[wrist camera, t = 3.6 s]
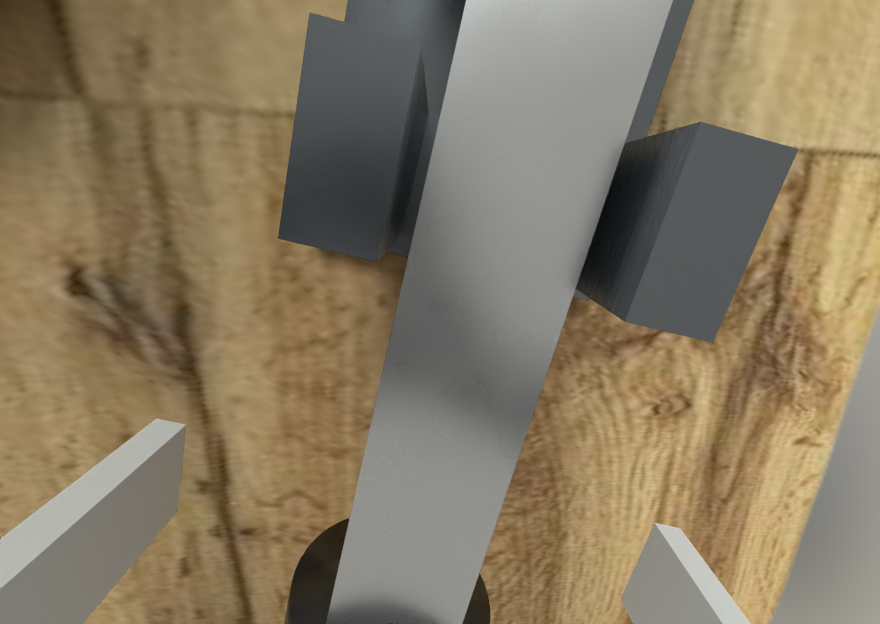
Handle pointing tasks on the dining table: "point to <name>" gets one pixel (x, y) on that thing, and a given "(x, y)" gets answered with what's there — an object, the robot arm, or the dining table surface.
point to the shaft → (481, 302)
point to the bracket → (627, 203)
